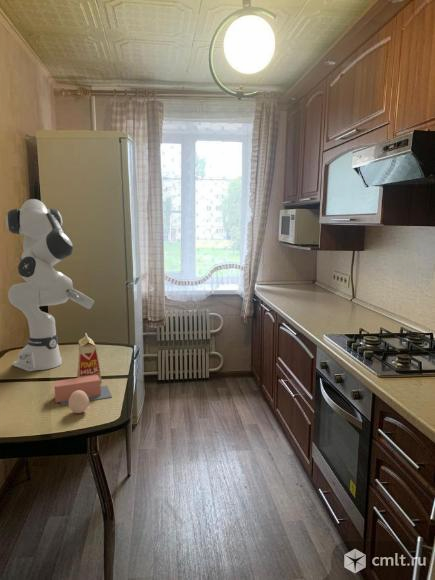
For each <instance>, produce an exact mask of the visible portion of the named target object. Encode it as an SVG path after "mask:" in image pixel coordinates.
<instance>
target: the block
mask: <svg viewBox="0 0 435 580" xmlns="http://www.w3.org/2000/svg"><path fill="white" fill-rule="evenodd" d="M53 386H54V387H53V388H54V389H53V390H54V399H55V400H54V401H55V404H56V403H60V402H63V401H69V398H70V396H71V395H72V393H73V392H75V391H77V390H81V391H83V392H85V393H86V394H87V396H88V397H93V396H99V395H101V386H102V385H101V382H100V378H99V376H98V375H94V376H87V377H80V378H77V377H75V378H68V379H60V380H55V381H53Z"/></svg>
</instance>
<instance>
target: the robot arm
mask: <svg viewBox="0 0 435 580" xmlns="http://www.w3.org/2000/svg"><path fill="white" fill-rule="evenodd" d="M63 223H64V222H63V216H62V215H61V213H60V211H59V210H58V209H54V208H47V206H46V205H45V203H43V202H42V201H41V200H39V199H36V198H30V199H28V200H26V201H25V202H24V203H22V205H21V208H13V209H10V210H9V211H8V212H7V214H6V216H5V224H6V227H7V229H8V231H9V232H11V234H14V235H20V234H22V235H23V241H22V246H23V247H22V249H23V252H22V253H21V254H20V258H19V260H20V261H19V264H18V266H17V272H18V275H19V277H21V278H22V279H23V280H24V281H25V282H21V283H16V284H12V285H11V286H10V288H9V290H8V292H7V297H8V300H9V303H10V304H11V305H12V306H13V307H15V308H17V309H19V310H20V311H21V312H22V313H23V315H24V316H25V318H26V321H27V324H28V329H29V336H28V337H26V341H27V344H26V345H25V346H24V347H23V348H21V349H20V351H19V352H18V355H17V360H15V361H14V362H12V366H14V367H16V368H19V369H21V370H24V371H26V372H34V371H44V370H50V369H53V368H56V367H59V366H61V365H62V363H63V362H62V360H63V358H62V356H61V352H60V348H59V344H58V338H59V337H58V334H57V329H56V319H55V317H54V315H52V314H50V313H48V312H45V311H42V309H40V307H45V306H57V305H61V304H65V303H67V302H68V301H69V300H71V301H73V302H74V303H77V304H79V306H80V305H81V306H82V307H84V308H86V309H88V310H90V309H91V308H92V307H93V305H94V303H95V300H94V299H93V298H91V297H89V296H88V295H86V294H84V293H82V292H81V291H79V290H77V289H75V288H74V286H73V285H74V283H73V281H72V279H71V278H70V277H69V276H67V275H65V274H64V273H63V272H61V271H60V270H59V271H58V270H56V269H55V268H54V266H56V265H57V264H58V263H60V262H61V261H62V260H64V259H66V258H68V257H69V256H71V255H72V252H73V249H74V244H73V242H72V241H71V239H70V237H68V236H67V234H66V232H65V230H64V228H63Z"/></svg>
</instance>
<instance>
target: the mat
mask: <svg viewBox="0 0 435 580" xmlns="http://www.w3.org/2000/svg"><path fill="white" fill-rule="evenodd" d="M100 386H101V395H99V396H93V397H88V399H89V402H93V401H98V400H104V399H110V398H112V397H113V396H112V394H111V391H110V389H109V387H108V385H100ZM59 404H60V407H62V406H69V401H63V402H59Z"/></svg>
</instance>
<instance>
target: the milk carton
mask: <svg viewBox="0 0 435 580" xmlns="http://www.w3.org/2000/svg"><path fill="white" fill-rule="evenodd" d="M84 334H85V336H83V337H82V338H80V339H79V340H78V368H77V374H76V375H77V376H76V378H80V377H87V376H94V375H98V376H99V378H100V383H102V382H103V381H102V374H101V365H100V360H99V355H98V351H97V347H96V344H95V342H94V340H93V339H92V338H90V336H88V333H87V332H85V333H84Z"/></svg>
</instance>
